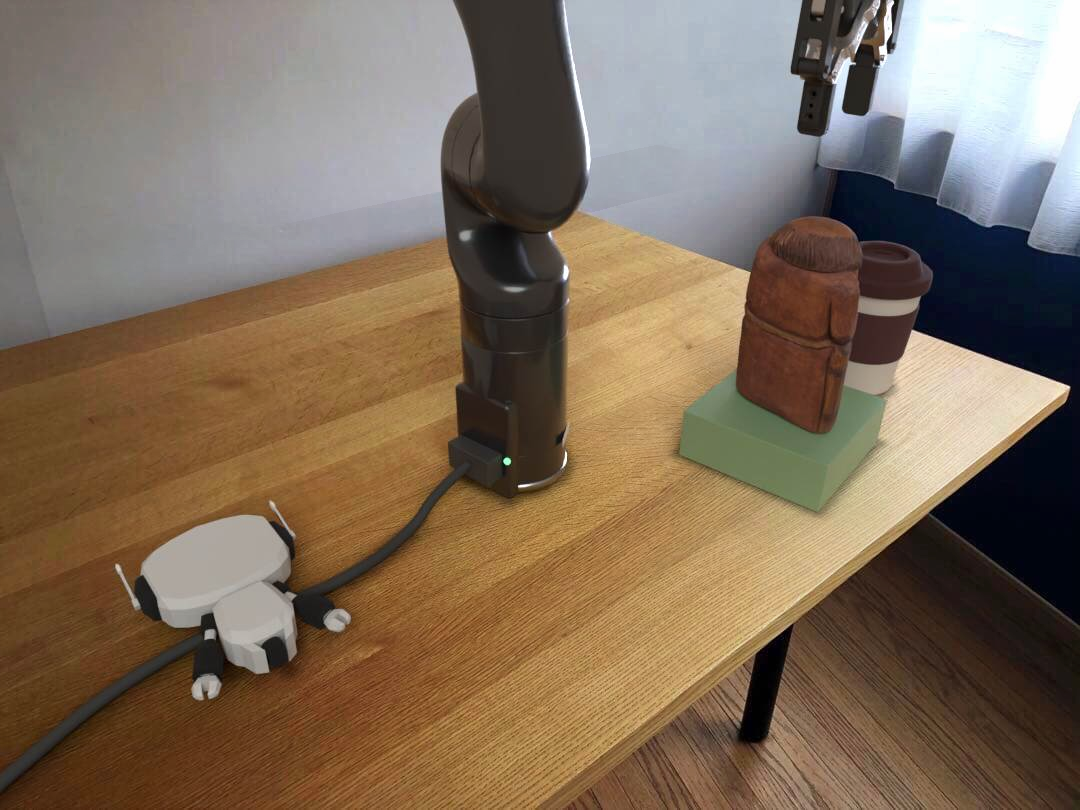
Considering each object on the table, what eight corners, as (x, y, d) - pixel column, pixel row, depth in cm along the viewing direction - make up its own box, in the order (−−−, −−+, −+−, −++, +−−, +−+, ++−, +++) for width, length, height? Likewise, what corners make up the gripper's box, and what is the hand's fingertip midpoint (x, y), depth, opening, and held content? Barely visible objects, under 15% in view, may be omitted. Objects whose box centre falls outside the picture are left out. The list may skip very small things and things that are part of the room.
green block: (817, 512, 75) (828, 466, 72) (678, 454, 82) (683, 410, 80) (876, 443, 84) (887, 399, 81) (746, 396, 92) (753, 355, 89)
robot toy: (365, 646, 63) (274, 530, 72) (361, 603, 60) (267, 489, 69) (198, 736, 56) (122, 596, 65) (186, 693, 53) (108, 553, 63)
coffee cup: (870, 414, 89) (902, 279, 81) (790, 377, 95) (813, 249, 87) (921, 384, 94) (956, 254, 86) (842, 351, 100) (868, 227, 93)
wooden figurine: (861, 419, 78) (906, 230, 69) (818, 443, 75) (858, 248, 66) (760, 369, 86) (787, 193, 77) (716, 389, 83) (739, 207, 74)
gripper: (863, -118, 66) (825, 102, 74) (781, -119, 56) (748, 133, 65) (965, -117, 62) (913, 115, 70) (895, -118, 52) (844, 150, 61)
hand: (834, 124), depth 67 cm, fingers open, 8 cm apart
